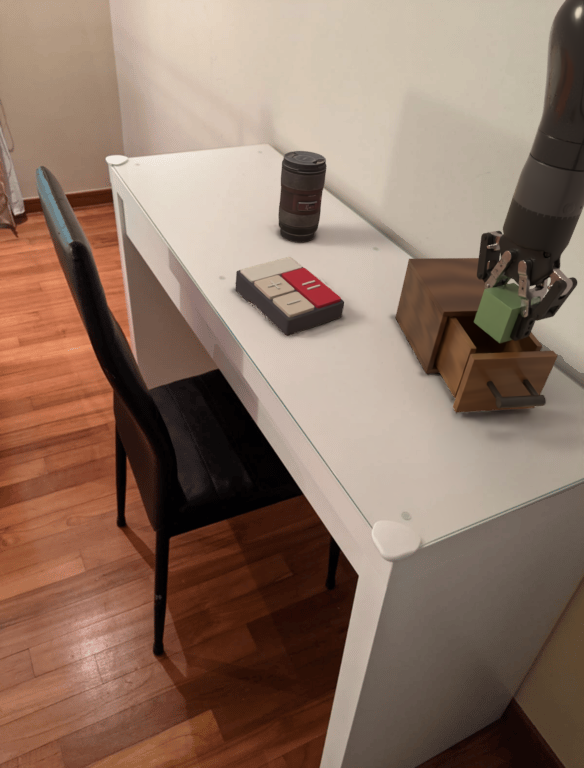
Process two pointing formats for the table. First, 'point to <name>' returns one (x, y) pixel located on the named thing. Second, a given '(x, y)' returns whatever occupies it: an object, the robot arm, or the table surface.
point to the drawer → (491, 368)
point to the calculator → (289, 295)
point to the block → (499, 311)
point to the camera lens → (301, 195)
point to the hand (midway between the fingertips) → (502, 326)
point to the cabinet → (436, 301)
